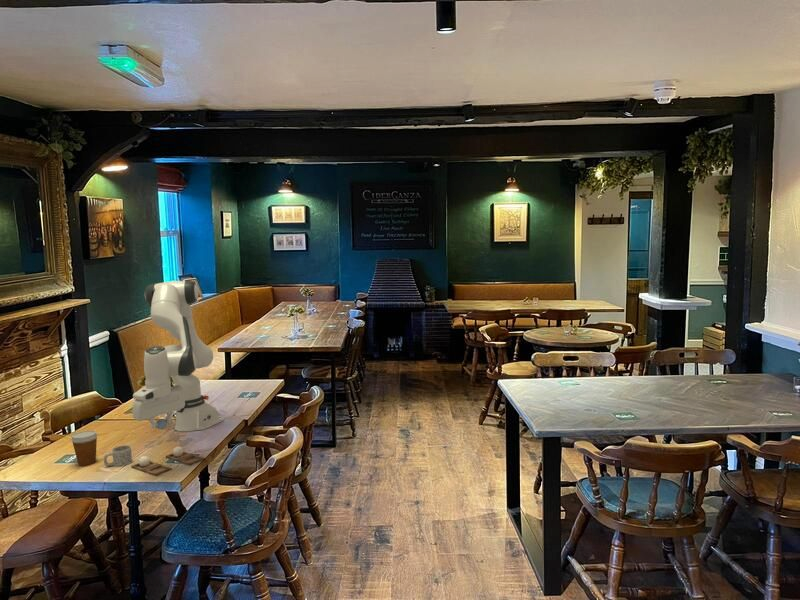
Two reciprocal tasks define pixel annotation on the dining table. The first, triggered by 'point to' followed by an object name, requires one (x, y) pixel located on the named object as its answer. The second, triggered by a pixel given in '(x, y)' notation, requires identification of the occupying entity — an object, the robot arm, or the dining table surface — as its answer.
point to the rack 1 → (152, 468)
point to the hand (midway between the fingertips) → (161, 425)
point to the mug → (119, 456)
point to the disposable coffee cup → (85, 447)
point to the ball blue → (161, 424)
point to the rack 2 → (186, 458)
